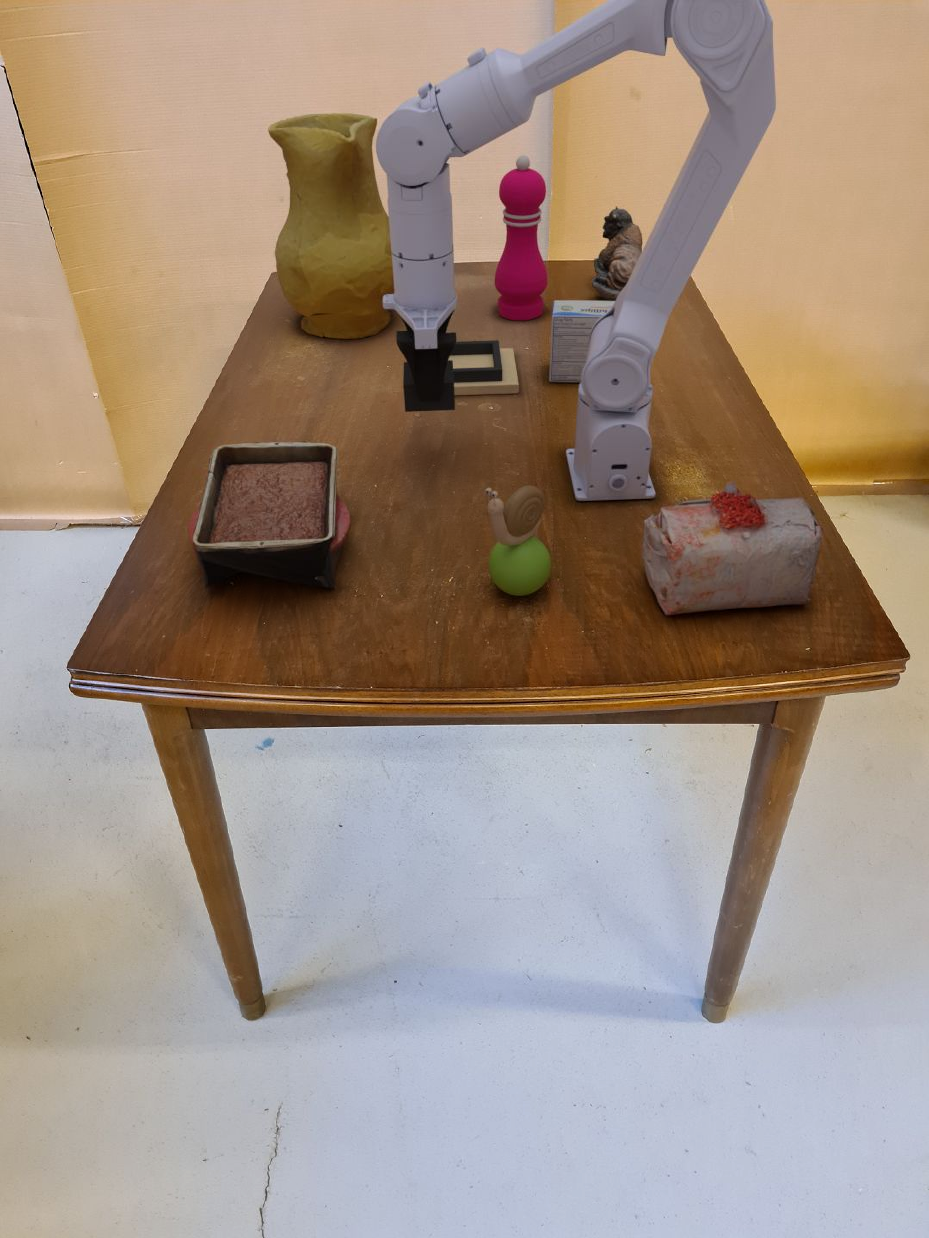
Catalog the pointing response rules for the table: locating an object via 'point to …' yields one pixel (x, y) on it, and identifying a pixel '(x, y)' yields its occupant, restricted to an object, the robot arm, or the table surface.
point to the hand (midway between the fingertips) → (429, 386)
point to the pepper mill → (521, 244)
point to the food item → (731, 552)
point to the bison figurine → (617, 254)
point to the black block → (416, 405)
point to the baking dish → (271, 513)
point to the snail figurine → (518, 542)
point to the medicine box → (572, 336)
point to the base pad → (483, 368)
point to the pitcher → (333, 226)
